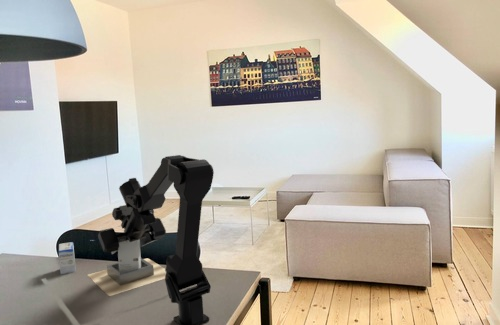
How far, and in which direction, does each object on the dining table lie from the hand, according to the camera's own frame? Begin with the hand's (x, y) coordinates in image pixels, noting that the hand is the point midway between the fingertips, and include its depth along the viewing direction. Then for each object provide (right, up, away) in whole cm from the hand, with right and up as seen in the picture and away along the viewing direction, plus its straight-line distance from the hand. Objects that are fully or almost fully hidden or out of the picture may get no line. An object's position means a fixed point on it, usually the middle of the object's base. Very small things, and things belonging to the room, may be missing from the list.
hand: (126, 248), depth 122 cm
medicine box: (-21, -9, +8) cm, 25 cm away
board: (+1, -9, 0) cm, 9 cm away
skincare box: (+1, -8, 0) cm, 8 cm away
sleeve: (+1, -8, 0) cm, 8 cm away
